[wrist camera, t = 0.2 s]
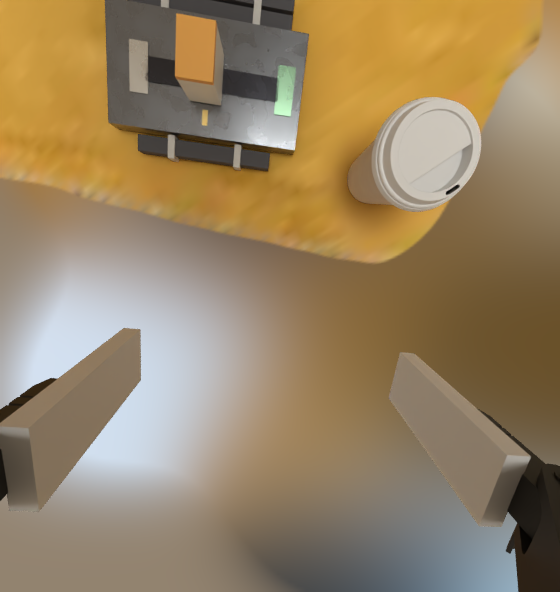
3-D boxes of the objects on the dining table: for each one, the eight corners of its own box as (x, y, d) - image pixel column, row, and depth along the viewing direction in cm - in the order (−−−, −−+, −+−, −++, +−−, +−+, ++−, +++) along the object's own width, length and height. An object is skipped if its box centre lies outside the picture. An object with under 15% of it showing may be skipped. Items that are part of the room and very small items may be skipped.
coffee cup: (341, 220, 39) (386, 220, 25) (331, 147, 37) (375, 99, 22) (407, 207, 39) (490, 199, 25) (402, 133, 37) (491, 76, 22)
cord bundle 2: (144, 134, 35) (137, 129, 33) (269, 153, 37) (270, 149, 35) (144, 157, 36) (137, 153, 34) (267, 174, 37) (268, 171, 35)
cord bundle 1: (134, -31, 31) (126, -47, 29) (294, 0, 33) (296, -14, 31) (134, 19, 32) (126, 6, 30) (289, 47, 34) (290, 36, 32)
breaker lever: (191, 49, 31) (176, 13, 26) (224, 55, 31) (215, 20, 26) (189, 100, 32) (174, 76, 27) (221, 105, 33) (212, 82, 27)
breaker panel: (116, 13, 32) (103, -6, 29) (305, 47, 34) (309, 32, 31) (119, 129, 35) (107, 121, 32) (292, 154, 37) (294, 149, 34)
